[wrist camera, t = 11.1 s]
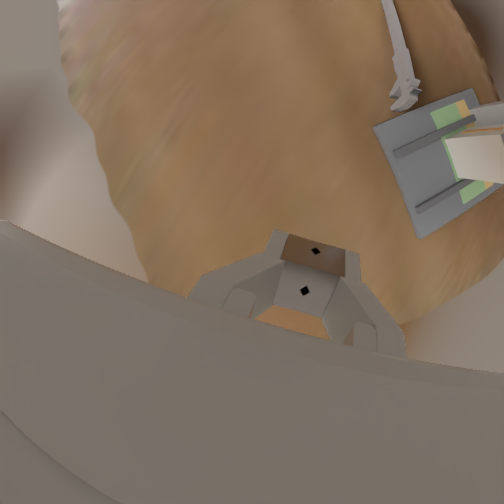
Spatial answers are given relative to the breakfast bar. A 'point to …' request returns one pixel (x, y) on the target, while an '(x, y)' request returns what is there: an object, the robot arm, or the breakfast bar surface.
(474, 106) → the grey holder
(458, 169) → the cream rectangular box
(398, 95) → the caliper
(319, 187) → the breakfast bar surface
